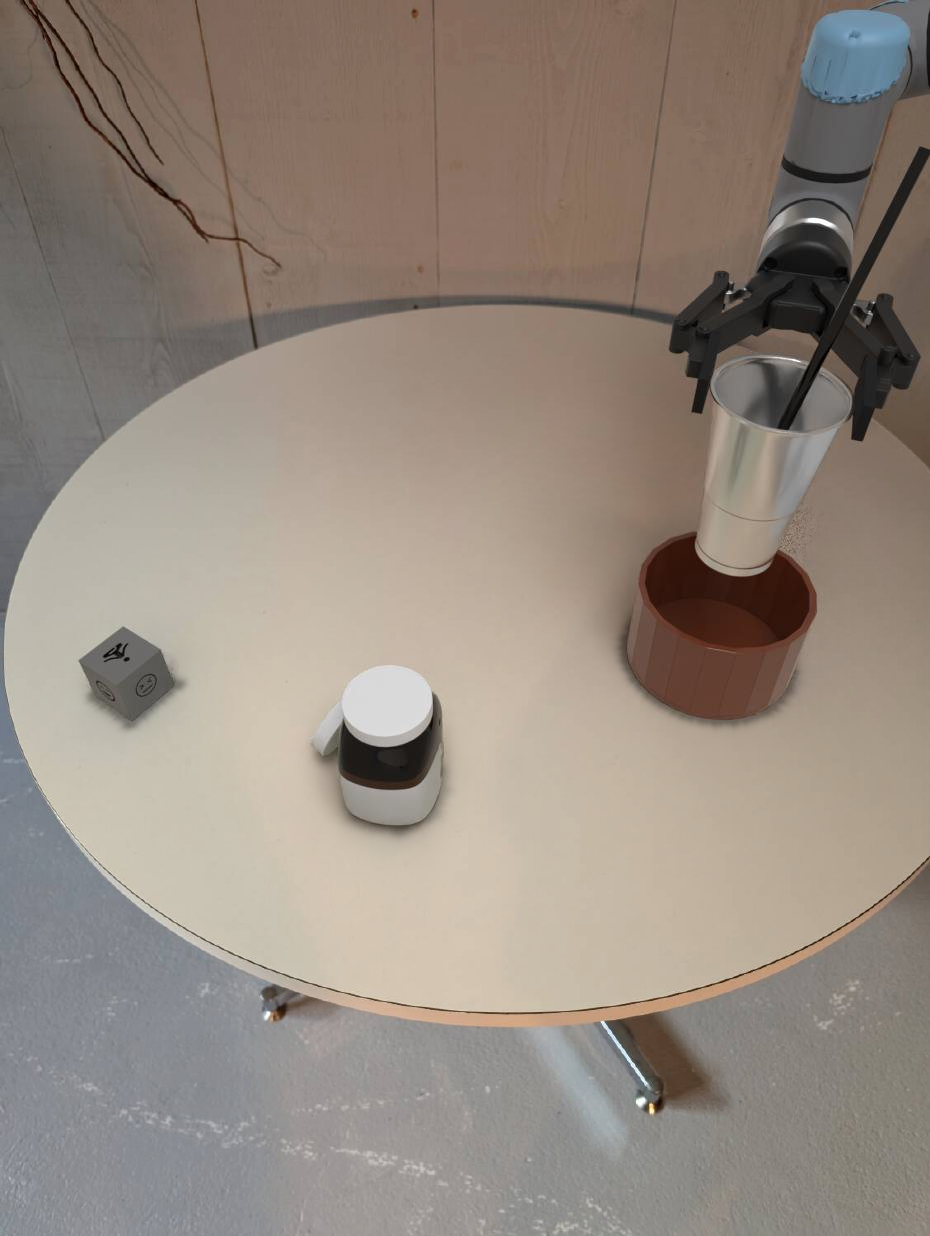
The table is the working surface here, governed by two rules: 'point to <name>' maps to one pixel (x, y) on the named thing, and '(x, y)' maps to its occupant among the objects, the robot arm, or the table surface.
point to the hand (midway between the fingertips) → (780, 409)
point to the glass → (777, 430)
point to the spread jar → (386, 745)
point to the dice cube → (127, 673)
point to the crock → (717, 631)
